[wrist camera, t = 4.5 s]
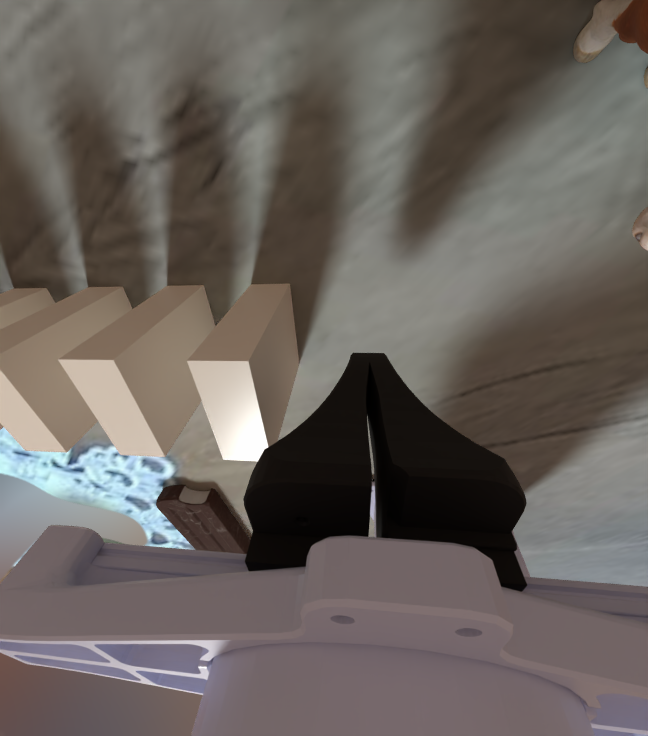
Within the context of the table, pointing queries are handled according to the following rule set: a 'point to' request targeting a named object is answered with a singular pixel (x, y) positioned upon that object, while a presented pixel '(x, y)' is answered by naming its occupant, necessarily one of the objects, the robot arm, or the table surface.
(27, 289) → the domino
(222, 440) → the domino
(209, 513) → the ice cream bar
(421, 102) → the table surface
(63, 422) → the domino
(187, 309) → the domino
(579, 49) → the bull figurine
